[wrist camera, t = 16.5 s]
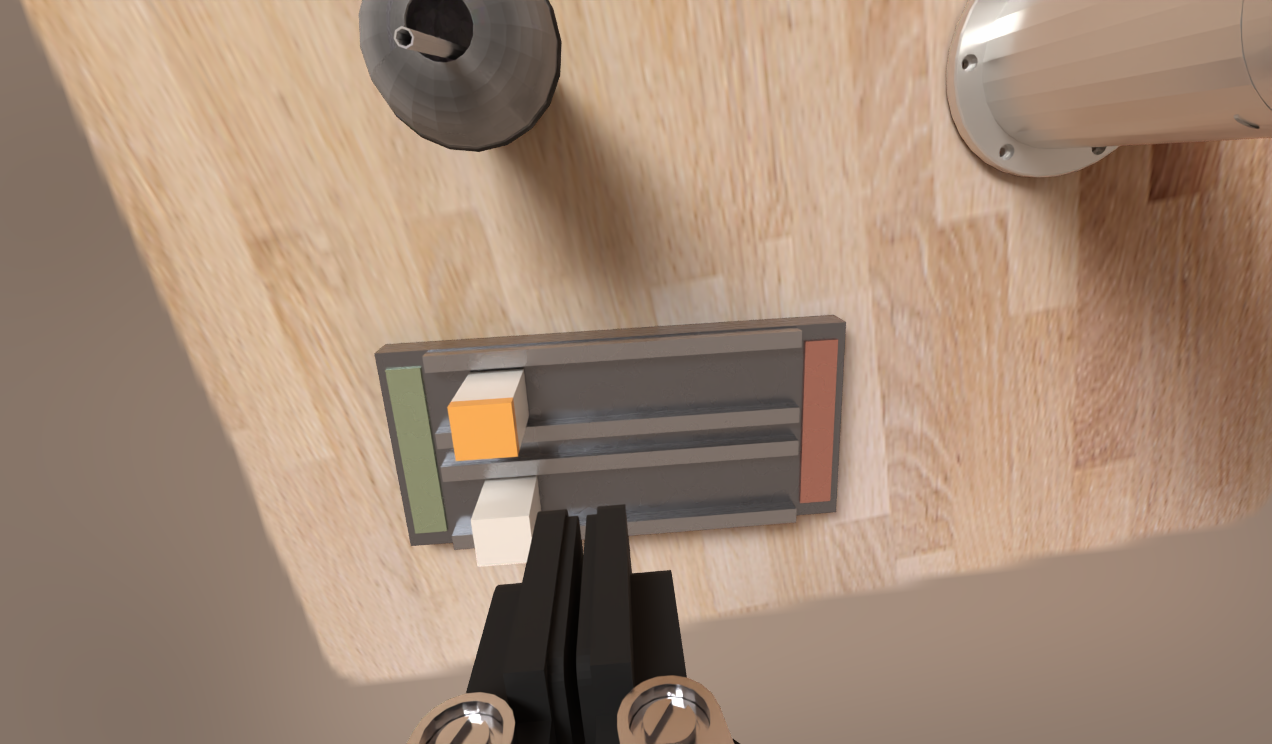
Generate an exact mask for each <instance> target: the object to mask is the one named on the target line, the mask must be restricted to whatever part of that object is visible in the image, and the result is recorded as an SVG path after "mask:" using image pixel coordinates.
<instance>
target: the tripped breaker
mask: <svg viewBox="0 0 1272 744" xmlns="http://www.w3.org/2000/svg"><path fill="white" fill-rule="evenodd" d="M447 408H448V415H449V421H450V427H451V434H452V440H453V446H454V453H455V459H456V461H465V460H479V459H492V458H506V457H518V454H519V450H520V447H521V443H522V439H523V436H524V432H525V428H526V425H527V421H528V418H529V410H528V401H527V392H526V383H525V375H524V369H509V370H494V371H480V372H469V374H468V375H467V377H466V379H465V380H464V382H463V383H462V385H461V387H460V388H459V390H458V391H457V393H456V394H455V396H454V398H453V399H452V401H451V402H450V404H449V405H448V407H447Z"/></svg>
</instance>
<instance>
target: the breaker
mask: <svg viewBox="0 0 1272 744" xmlns="http://www.w3.org/2000/svg"><path fill="white" fill-rule="evenodd" d="M539 511H541V505H540V496H539V487H538V478H537V475H529V476H516V477H503V478H489V479H485V482H484V485H483V487H482V490H481V493H480V496H479V499H478V501H477V504H476V507H475V510H474V512H473V515H472V518H471V526H472V532H473V539H474V546H475V552H476V559H477V565H478V567H482V566H494V565H506V564H519V563H527V558H528V554H529V549H530V544H531V540H532V535H533V531H534V526H535V521H536V517H537V513H538V512H539Z"/></svg>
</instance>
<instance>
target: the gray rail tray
mask: <svg viewBox="0 0 1272 744" xmlns="http://www.w3.org/2000/svg"><path fill="white" fill-rule="evenodd" d="M845 331H846V322H845V321H843V320H842V319H840V318H838V317H836V316H835V315H825V316H810V317H795V318H780V319H764V320H749V321H734V322H719V323H704V324H689V325H674V326H658V327H643V328H628V329H613V330H598V331H583V332H567V333H552V334H537V335H522V336H507V337H492V338H477V339H461V340H446V341H431V342H416V343H401V344H386V345H384V346H383V347H382V348H381V349H379V350H378V351H377V352H376V353H374V354H375V359H376V364H377V369H378V375H379V380H380V385H381V391H382V396H383V401H384V406H385V412H386V417H387V422H388V427H389V433H390V438H391V443H392V448H393V454H394V459H395V464H396V469H397V475H398V480H399V485H400V490H401V496H402V501H403V506H404V512H405V517H406V522H407V527H408V533H409V538H410V543H411V546H417V545H429V544H442V543H453V546H454V550H458V549H470V548H475V546H474V539H473V532H472V526H471V518H472V515H473V512H474V510H475V507H476V504H477V501H478V499H479V496H480V493H481V490H482V487H483V485H484V482H485V479H489V478H503V477H516V476H529V475H537V478H538V487H539V496H540V505H541V511H550V510H562V509H567V511H568V516H569V517H570V516H578V517H579V522H580V530H581V538H582V539H585V529H586V517H587V515H593V514H597V507H598V506H609V505H621V504H625V505H626V515H627V525H628V536H632V535H644V534H657V533H669V532H682V531H694V530H707V529H719V528H732V527H744V526H757V525H769V524H781V523H794V522H796V515H805V514H818V513H830V512H836V500H837V481H838V462H839V443H840V424H841V406H842V387H843V368H844V349H845ZM509 369H524V375H525V383H526V392H527V401H528V410H529V418H528V421H527V425H526V428H525V432H524V436H523V439H522V443H521V447H520V450H519V454H518V457H506V458H492V459H479V460H465V461H456V459H455V453H454V446H453V440H452V434H451V427H450V421H449V415H448V408H447V407H448V405H449V404H450V402H451V401H452V399H453V398H454V396H455V394H456V393H457V391H458V390H459V388H460V387H461V385H462V383H463V382H464V380H465V379H466V377H467V375H468V374H469V372H480V371H494V370H509Z"/></svg>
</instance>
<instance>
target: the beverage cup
mask: <svg viewBox="0 0 1272 744" xmlns="http://www.w3.org/2000/svg"><path fill="white" fill-rule="evenodd" d="M359 28H360V48H361V51H362V54H363V57H364V60H365V63H366V65H367V68H368V71H369V74H370V77H371V80H372V81H373V83H374V84H375V86H376V87H377V89H378V90H379V92H380V93H381V95H382V96H383V98H384V99H385V100H386V102H387V103H388V105H389V106H390V108H391V109H392V111H393V112H394V114H395V115H396V116H397V117H398V118H399V119H400V120H401V121H403V122H404V123H405V124H406V125H407V126H409V127H410V128H411V129H412V130H413V131H415V132H416V133H417V134H418V135H419V136H421V137H422V138H425V139H427V140H429V141H432V142H434V143H436V144H439V145H441V146H443V147H446V148H448V149H453V150H465V151H476V152H481V151H485V150H489V149H493V148H497V147H501V146H505V145H508V144H509V143H511V142H512V141H514V140H515V139H517V138H518V137H520V136H521V135H523V134H524V133H526V132H527V131H529V130H530V129H532V128H533V126H534V125H535V124H536V122H537V121H538V120H539V118H540V117H541V116H542V114H543V113H544V112H545V111H546V109H547V108H548V107H549V105H550V103H551V100H552V97H553V94H554V91H555V89H556V86H557V83H558V80H559V77H560V67H561V38H560V34H559V30H558V26H557V22H556V18H555V14H554V10H553V7H552V6H551V4H550V2H549V0H362V4H361V8H360V11H359Z"/></svg>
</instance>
